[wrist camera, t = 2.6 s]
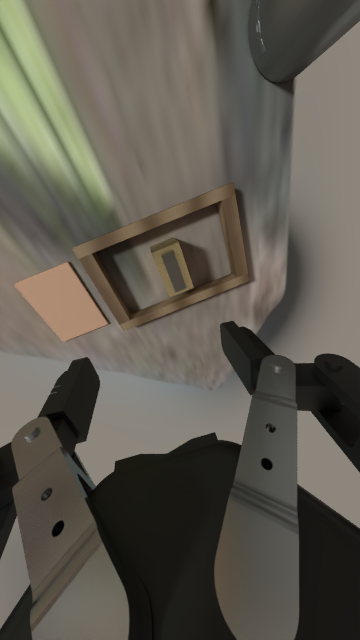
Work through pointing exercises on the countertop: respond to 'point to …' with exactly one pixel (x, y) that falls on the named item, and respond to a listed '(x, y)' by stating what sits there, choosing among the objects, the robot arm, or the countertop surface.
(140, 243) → the countertop surface
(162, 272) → the lever cap
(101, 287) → the open wooden frame
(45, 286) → the mat
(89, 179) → the countertop surface
